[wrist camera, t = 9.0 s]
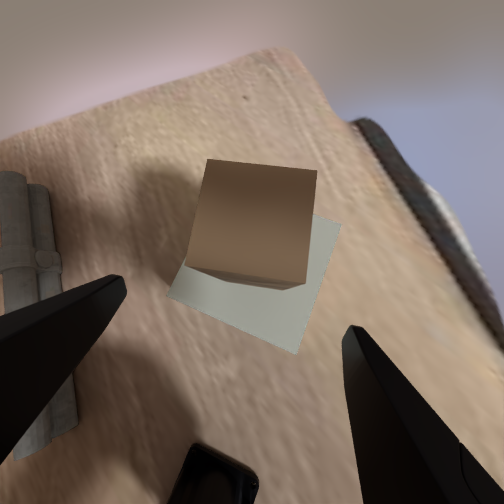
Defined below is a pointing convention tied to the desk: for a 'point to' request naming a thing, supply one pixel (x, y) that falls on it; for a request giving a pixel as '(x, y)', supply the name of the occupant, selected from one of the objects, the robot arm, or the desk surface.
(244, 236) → the walnut block
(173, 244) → the desk surface
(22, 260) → the metal rod assembly
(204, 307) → the plate
